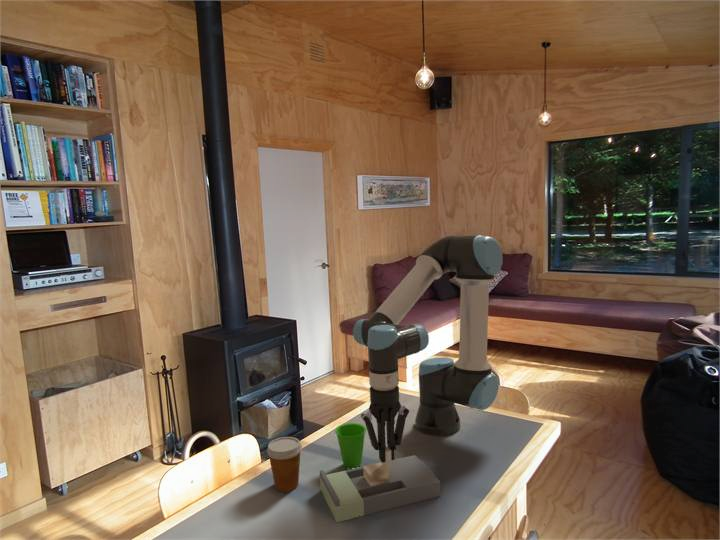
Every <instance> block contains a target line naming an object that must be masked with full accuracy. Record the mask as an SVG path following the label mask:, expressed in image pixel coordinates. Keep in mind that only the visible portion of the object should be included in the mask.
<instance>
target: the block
mask: <svg viewBox="0 0 720 540" xmlns="http://www.w3.org/2000/svg"><path fill="white" fill-rule="evenodd" d="M362 467H363V472H364V478H365V479H366V481H367V482H368V484H369V485H370V486H375V485H379V484H383V483H387V482H389V480H388V470H387V469H386V468H385V467H384V466H383V464H382V462H381V461H380V462H375V463H372V464H368V465H364V466H362Z"/></svg>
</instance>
